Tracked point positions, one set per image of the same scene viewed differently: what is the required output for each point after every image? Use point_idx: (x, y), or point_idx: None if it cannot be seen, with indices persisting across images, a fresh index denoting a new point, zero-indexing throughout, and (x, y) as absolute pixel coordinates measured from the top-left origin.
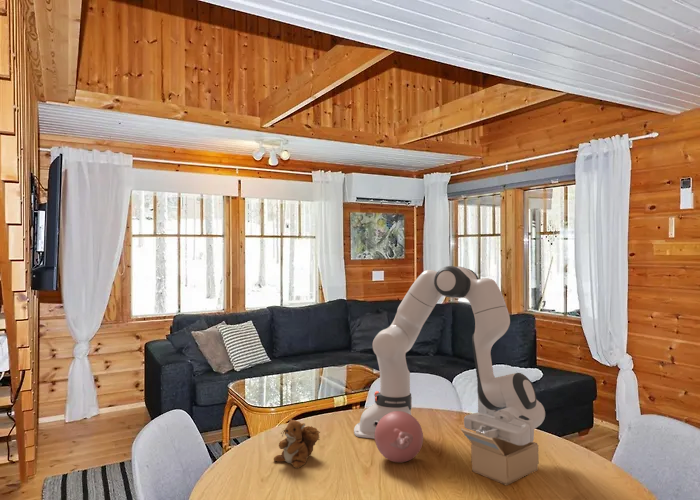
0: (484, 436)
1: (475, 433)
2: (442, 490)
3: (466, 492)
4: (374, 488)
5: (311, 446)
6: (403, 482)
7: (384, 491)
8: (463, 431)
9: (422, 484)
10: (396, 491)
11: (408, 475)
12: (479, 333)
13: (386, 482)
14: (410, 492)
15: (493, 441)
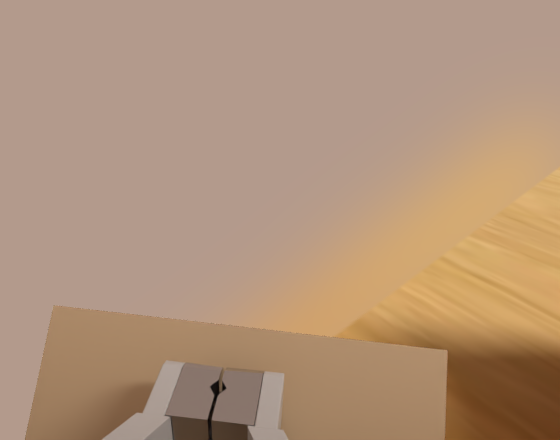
0: (147, 317)
1: (255, 328)
2: None
3: None
4: (485, 268)
5: None
6: (481, 341)
7: (450, 272)
8: (416, 371)
9: None
10: (430, 289)
11: (538, 398)
12: None
13: (511, 310)
14: (396, 306)
15: (53, 335)
